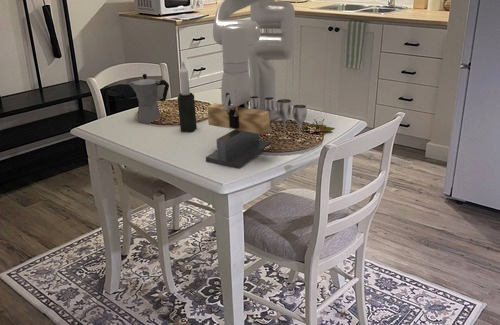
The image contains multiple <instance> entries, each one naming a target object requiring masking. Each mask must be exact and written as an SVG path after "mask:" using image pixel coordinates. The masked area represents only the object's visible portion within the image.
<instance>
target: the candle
mask: <svg viewBox="0 0 500 325" xmlns="http://www.w3.org/2000/svg"><path fill="white" fill-rule="evenodd" d="M179 81H180V83H179V84H180V91H181V92H180V93H179V94H178V96H177V107H178V115H179V126H180V132H182V133H194V132H195V130H197V126H198V125H197V117H196V116H197V115H196V104H195V94H194V93H192V92H191V91H190V77H189V71H188V69H187V68H186V64H185V61H181V67H180V70H179Z"/></svg>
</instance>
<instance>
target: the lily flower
mask: <svg viewBox="0 0 500 325" xmlns="http://www.w3.org/2000/svg"><path fill="white" fill-rule="evenodd" d="M313 120H314V121H312V123H311V125H310V124H309V125H308V126H309V127H316V130H317V129H319V128H320V129H321V130H320V129H319V130H320V132H322V133H323V135H322V136H325V134H326V133H327V132H330V133H333V131H332V130H334V129H335V127H330V126H327V125H325V124H324V122H325V118H323V119H322V121H321V120H317V119H313ZM312 125H314V126H312ZM306 129H310V128H308V127H307V128H306ZM309 131H310V130H309Z"/></svg>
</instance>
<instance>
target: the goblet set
mask: <svg viewBox="0 0 500 325" xmlns="http://www.w3.org/2000/svg"><path fill="white" fill-rule="evenodd" d="M276 101H277V106H276V111H277V113H278V115H279V118H280V120H281V122H282V123H283V135H284V136H285V135H286V122H287V120H288V119H289V117H290V116H291V114H292V118H293V120H294V121H295V123H296V124H297V126H298V138H301V128H302V124H303V123H304V121H305V120H306V118H307V114H308V109H307V105H305V104H294V105H293V102H292V100H291V99H289V98H281V99H278V100H276ZM247 107H248V108H249V109H256V110H259V107H260V100H259V97H258V96H252V97H251V99H250V101H249V104H248V106H247ZM274 108H275V102H274V98H272V97H267V98H265V99H264V110H265V111H269V131H268V133H271V117H272V114H273V112H274Z"/></svg>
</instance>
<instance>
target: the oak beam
mask: <svg viewBox="0 0 500 325" xmlns="http://www.w3.org/2000/svg"><path fill="white" fill-rule="evenodd" d="M223 107H224V106H223V105H222V103H212V104H210V105H208V106H207V108H206V110H207V121H208V126H214V127H219V128H225V129H230V130H231V129H232V130H241V131H247V132H252V133H258V134H259V135H265V134H267V133H269V111H263V110H256V109H251V108H250V107H249V108H242V107H238V112H237V116H239V128H238V129H236V128H230V126H229V116H228V113H227V112H226V111H224V110H223ZM232 109H233V111H234V108H232Z"/></svg>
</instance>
